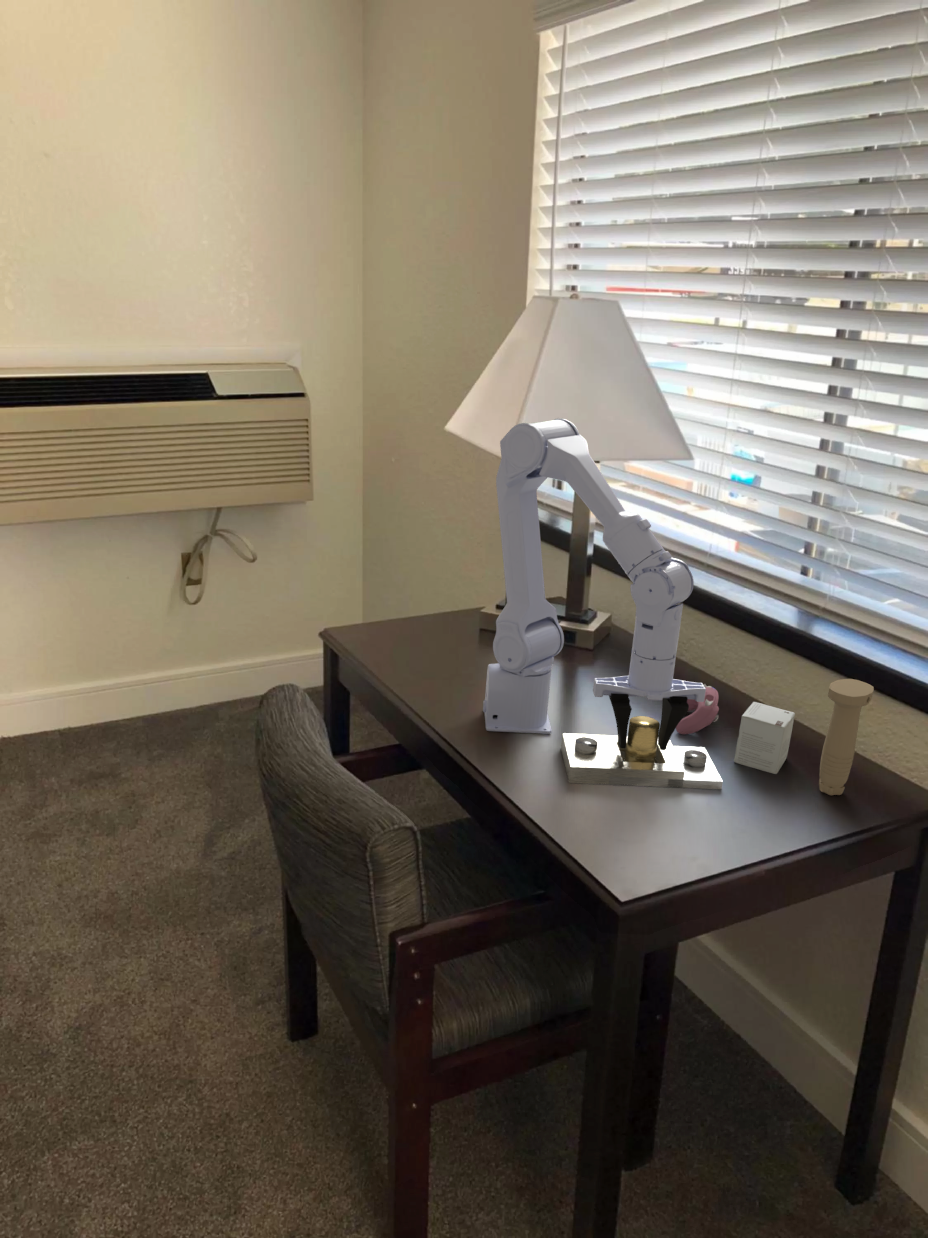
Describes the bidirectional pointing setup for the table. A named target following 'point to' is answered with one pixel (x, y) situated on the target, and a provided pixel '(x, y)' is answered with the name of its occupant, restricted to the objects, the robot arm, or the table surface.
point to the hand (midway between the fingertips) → (641, 746)
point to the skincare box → (764, 737)
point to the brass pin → (642, 740)
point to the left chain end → (612, 760)
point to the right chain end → (694, 764)
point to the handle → (842, 733)
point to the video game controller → (700, 713)
